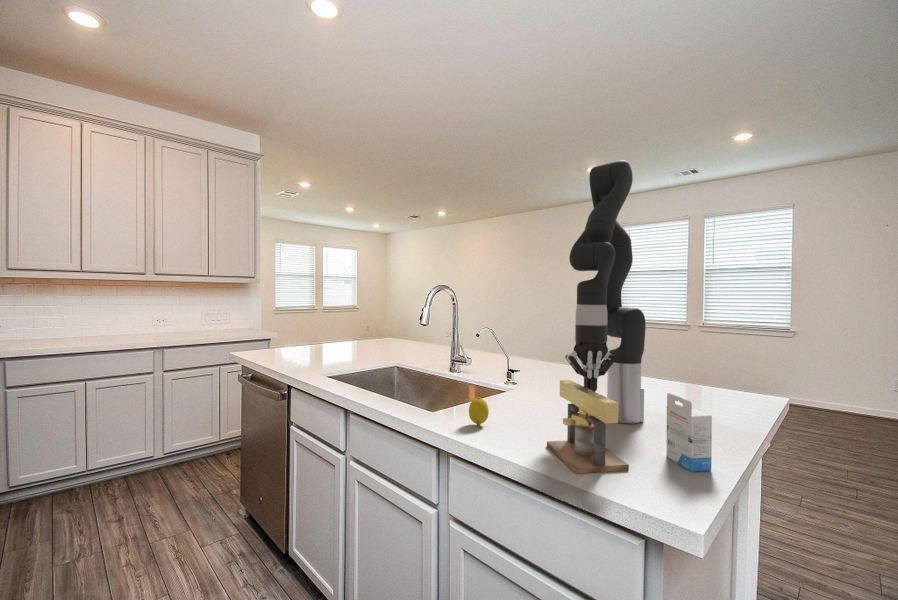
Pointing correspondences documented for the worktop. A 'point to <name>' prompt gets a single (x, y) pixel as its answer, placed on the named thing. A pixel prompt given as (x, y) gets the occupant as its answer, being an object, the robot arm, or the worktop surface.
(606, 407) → the yellow long bar
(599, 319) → the robot arm
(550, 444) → the base
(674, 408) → the ink box
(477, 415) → the lemon
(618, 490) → the worktop surface
